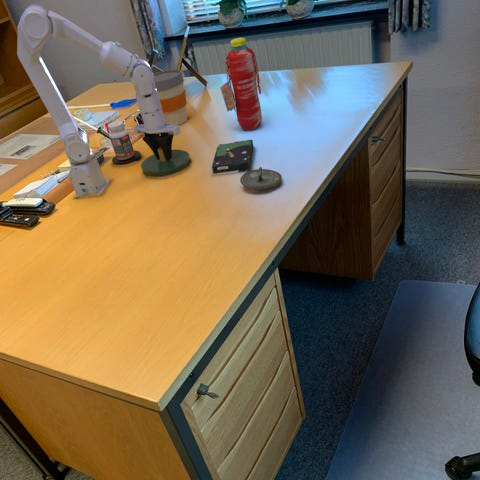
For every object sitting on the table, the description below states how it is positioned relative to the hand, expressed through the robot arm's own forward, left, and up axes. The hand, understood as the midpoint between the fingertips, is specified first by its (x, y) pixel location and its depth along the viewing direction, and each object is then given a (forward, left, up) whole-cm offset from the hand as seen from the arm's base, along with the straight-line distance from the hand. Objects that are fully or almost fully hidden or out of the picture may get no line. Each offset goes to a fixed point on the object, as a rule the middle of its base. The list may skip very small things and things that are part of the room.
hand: (164, 158), depth 138 cm
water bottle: (+23, -21, -3) cm, 31 cm away
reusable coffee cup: (+38, +6, -3) cm, 39 cm away
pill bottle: (+9, +15, -2) cm, 18 cm away
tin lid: (0, 0, -1) cm, 1 cm away
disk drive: (-1, -20, -3) cm, 20 cm away
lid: (-17, -29, -3) cm, 34 cm away
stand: (+9, +15, -3) cm, 18 cm away
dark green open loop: (0, 0, -3) cm, 3 cm away
